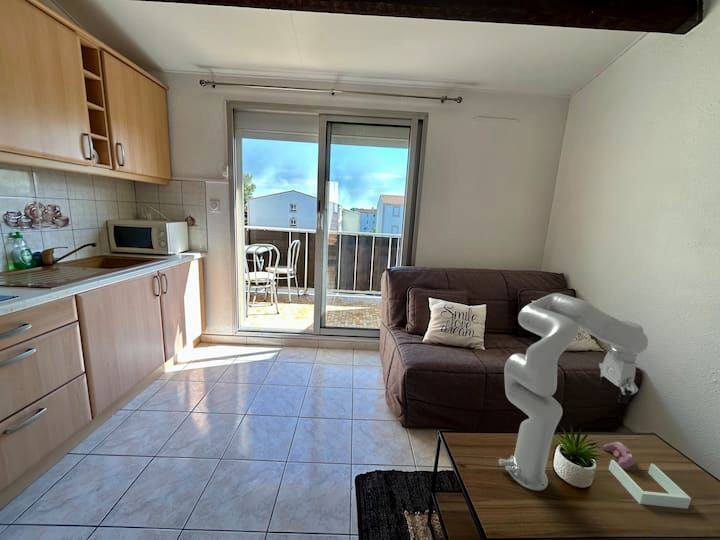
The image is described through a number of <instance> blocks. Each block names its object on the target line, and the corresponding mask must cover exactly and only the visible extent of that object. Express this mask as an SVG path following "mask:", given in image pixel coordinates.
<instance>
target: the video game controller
mask: <svg viewBox="0 0 720 540" xmlns="http://www.w3.org/2000/svg"><path fill="white" fill-rule="evenodd" d="M602 450H603V451H607V452H609V451H613V455H614V456H615V457H616V458H618V462H616V463H617V464H618V465H619V466H620V467H621V468H622V469H626V468H629V467H631V466H634V465H635V464H636V462H637V461H636V458H635V457H634V455H633V453H632V451H631V450H630V449H629V448H628V447H627V446H626V445H625V444H624V443H622V442H619V441H613V442H610V443H606V444H604V445H603V446H602Z"/></svg>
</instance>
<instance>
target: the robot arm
mask: <svg viewBox="0 0 720 540" xmlns="http://www.w3.org/2000/svg"><path fill="white" fill-rule="evenodd" d="M517 320H518V324H519V325H520V326H521V327H522V328H523V329H525V330H526V331H529V332H531V333H533V334H535V335H537V336H539V337H542V338H541V339H540V340H537V342H535V343H533V344H531V345H530V346H529V347H528V348H527V349H526V352H525V354H524V353H513V354H511V355H510V356H509V357H508V358H507V360H506V362H505V365H504V370H503V373H504V389H505V396H506V398H507V399H508V401H509V402H510V403H511V404H513V405H514V406H516V408H517V409H519V410H521V411H522V412H523V413H524V414H526V415H527V416H528V418H526V419H524V420H523V421H521V422H520V424H519V425H520V426H519V428H518V429H519V430H518V435H517V441H516V443H515V444H516V445H515V450H514V455H510V458H507V459H505V458H498V464H499V466H505V471H507V472H508V473H509V475H510V477H512V479H513V480H514V481H516V482H517V483H518V484H519V485H521V486H523V487H524V488H526V489H528V490H531V491H539V492H541V491H543V490H545V489H547V487H548V485H549V478H548V476H547V474H546V468H547V465H548V464H547V463H548V460H549V455H550V451H551V447H552V441H553V438H554V436H555V435H554V434H555V431H556V429H557V426H558V425H559V423H560V420H561V419H562V416H563V413H564V412H563V407H562V406H561V403H559V402H558V401H557V400H556V399H555V398H554V397H553V396H554V395H555V394H556V391H557V386H558V361H559V358H560V356H561V355H562V354H563V353H564V352H565V351H566V350H567V348H568V347H570V345H571V344H572V343H573V342H574V341H575V340H576V338H577V337H578V334H579V329H580V330H581V331H583V332H585V333H586V334H588V335H591V336H592V337H594V338H596V339H598V340H599V341H600V342H603V343H606V344H608V345H610V348H609V351H608V352H607V353H606V355H605V356H604V359H603V361H602V362H599V363H598V367H599V372H600V374H599V376H600V379H599V383H598V386H599V387H600V388H609V385H610V383H612V384H613V385H615V386H617V387H619V388H620V390H621V392H619V396H618V400H617V402H618V403H619V404H626V405H627V404H629V401H630V398H631V396H633V395H635V394H637V392H638V391H639V388H638V386H637V385H636V383H635V382H634V381H635V377H636V370H637V369H636V368H637V367H636V365H637V364H636V361H637V357H638V354H641V353H643V352H644V351H646V349H647V347H648V345H649V340H648V337H647V335H646V334H645V333H644V327H643V326H641V324H638V323H636V322H633V321H629V320H620V319H618V318H615V317H614V316H612V315H609V314H608V313H605V312H603V311H602V310H601V309H599V308H597V307H596V306H595V305H593V304H592V303H590V302H588V301H586V300H583V299H580V298H577V297H573V296H570V295H566V294H562V293H557V292H555V293H551V294H548V295H545V296H543V297H541V298H538V299H537V300H536V299H535V301H533V302H531V303H528V304H526V305H525V306H524V307H523V308H521V310H520V311H519V313H518V316H517Z"/></svg>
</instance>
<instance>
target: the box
mask: <svg viewBox="0 0 720 540" xmlns="http://www.w3.org/2000/svg"><path fill="white" fill-rule="evenodd" d="M617 463H618V462H616V461H615V460H614V459H610V462H609V465H608V470H609V471H610V472H611V474H613V476H614V477H615V478H616V479H617V480H618V482H619V483H621V485H622V486H623V487H624V488H625V489H626V490H627V491H628V492H629V494H630V495H631V496H632V497H633V499H635V501H636V502H637V503H638V504H639V505H647V506H657V507H667V508H678V509H687V510H688V509H689V506H690V504H691V501H692V498H691V496H690V495H688V494H687V493H686V492H685V491H684V490H683V489H681V487H680V486H678V485H677V483H675V482H674V481H673V480H672V479H671V478H670V477H668V476H667V475H666V474H665V473H664V472H663V471H662V469H660V468H659V467H658V466H657V465H656V464H655V463H650V465H649V468H648V471H647V474H649V476H651V478H652V479H653V480H654V481H656V482H657V484H659V486H661V488H663V490H664V491H666V492H657V491H647V490H646V491H645V490H644V489H642V488H641V487H640V486H639V485H638V484H637V483H636V482H635V481H634V479H632V478H631V477H630V475H629V474H628V473H627V472H626V471H625V470H624V468H621V467H620V466H619V465H618V464H617Z"/></svg>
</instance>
